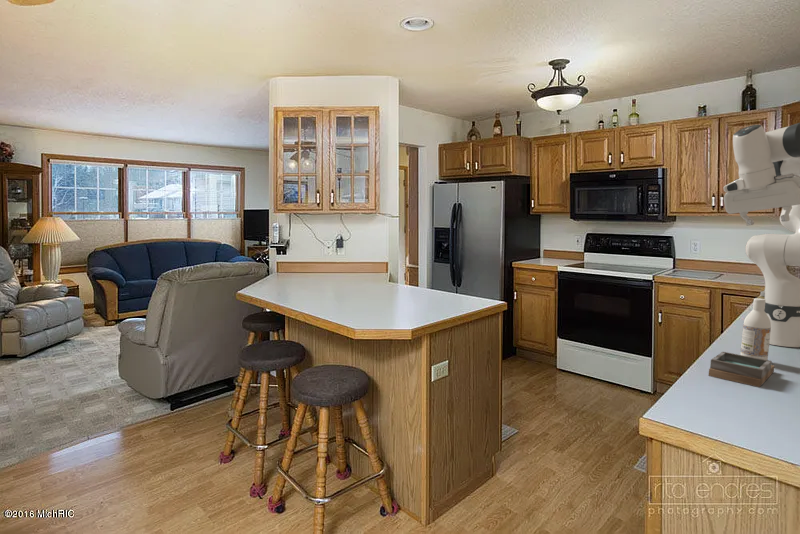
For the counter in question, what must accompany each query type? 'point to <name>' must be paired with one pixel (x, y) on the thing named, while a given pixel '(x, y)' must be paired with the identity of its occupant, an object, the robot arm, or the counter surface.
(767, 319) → the bath foam
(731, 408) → the counter surface
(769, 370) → the tray
